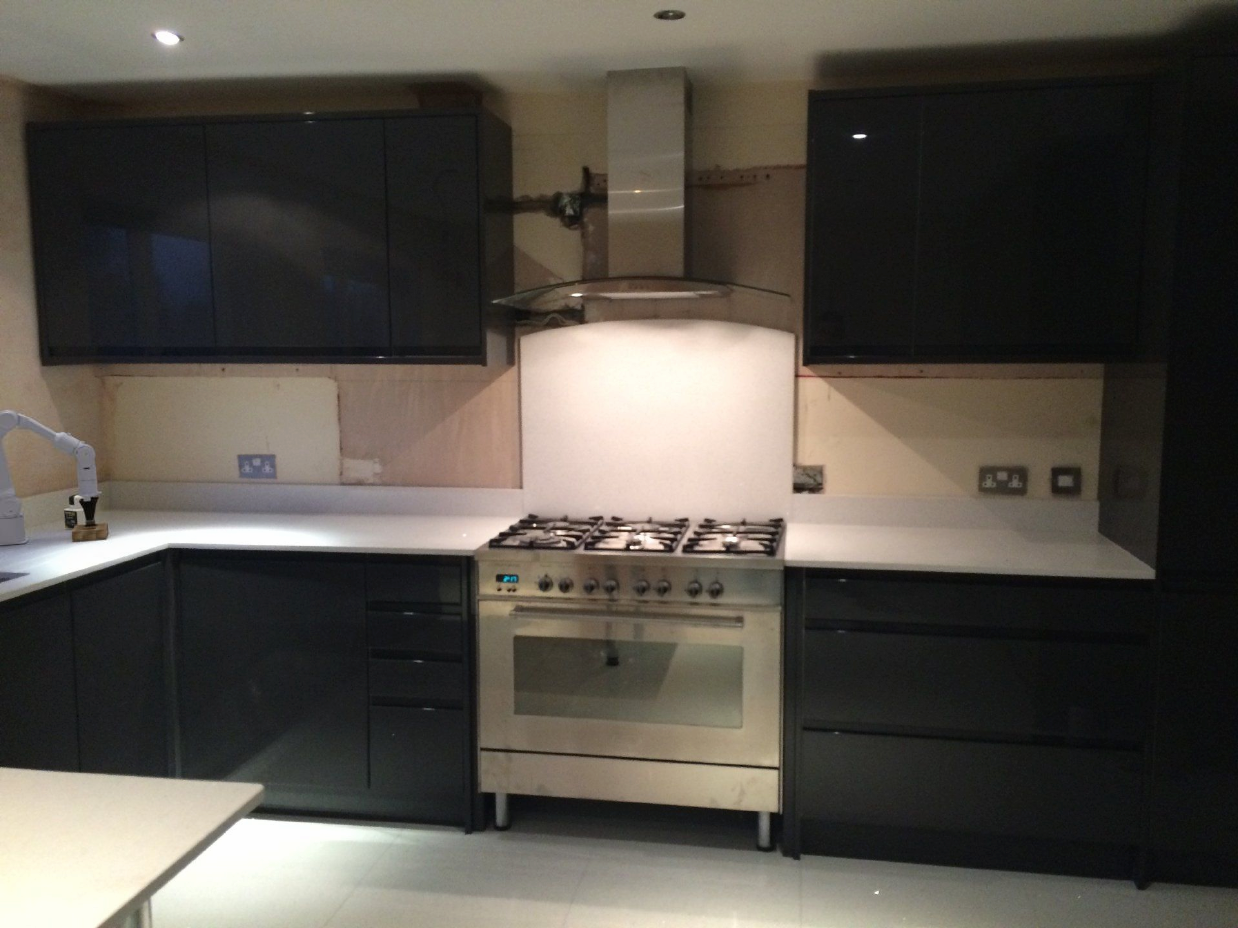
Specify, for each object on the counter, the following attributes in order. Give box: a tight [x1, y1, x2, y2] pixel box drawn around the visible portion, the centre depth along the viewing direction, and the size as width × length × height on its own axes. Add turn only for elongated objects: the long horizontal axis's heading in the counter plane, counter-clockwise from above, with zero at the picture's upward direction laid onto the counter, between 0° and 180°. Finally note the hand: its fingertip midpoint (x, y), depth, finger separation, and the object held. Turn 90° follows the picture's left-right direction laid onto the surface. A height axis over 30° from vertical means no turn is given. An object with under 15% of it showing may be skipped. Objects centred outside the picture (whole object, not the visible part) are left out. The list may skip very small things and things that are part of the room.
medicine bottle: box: [63, 493, 97, 530], centre depth 360 cm, size 7×7×12 cm
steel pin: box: [85, 512, 97, 527], centre depth 345 cm, size 3×3×8 cm
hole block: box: [71, 522, 109, 543], centre depth 342 cm, size 10×14×4 cm
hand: (90, 519), depth 345 cm, fingers closed on steel pin, 3 cm apart
